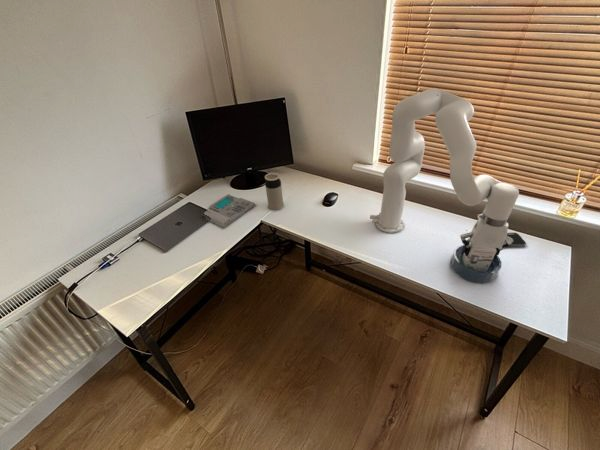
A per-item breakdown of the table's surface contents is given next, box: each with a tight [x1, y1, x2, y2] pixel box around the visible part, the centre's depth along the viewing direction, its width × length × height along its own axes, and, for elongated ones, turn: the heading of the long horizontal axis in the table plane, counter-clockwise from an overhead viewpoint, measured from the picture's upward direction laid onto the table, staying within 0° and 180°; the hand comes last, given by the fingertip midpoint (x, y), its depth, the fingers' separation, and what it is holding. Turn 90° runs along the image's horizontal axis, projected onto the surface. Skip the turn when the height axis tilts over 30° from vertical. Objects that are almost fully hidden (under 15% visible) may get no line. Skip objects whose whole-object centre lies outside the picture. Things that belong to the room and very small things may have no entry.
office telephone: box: [203, 193, 256, 229], centre depth 159 cm, size 23×3×20 cm
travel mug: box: [264, 172, 284, 211], centre depth 155 cm, size 8×8×18 cm
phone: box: [505, 232, 527, 248], centre depth 130 cm, size 8×1×15 cm
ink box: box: [461, 242, 497, 272], centre depth 115 cm, size 9×5×12 cm, turn 78°
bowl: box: [450, 243, 502, 284], centre depth 118 cm, size 16×16×6 cm
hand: (479, 254), depth 114 cm, fingers open, 9 cm apart
